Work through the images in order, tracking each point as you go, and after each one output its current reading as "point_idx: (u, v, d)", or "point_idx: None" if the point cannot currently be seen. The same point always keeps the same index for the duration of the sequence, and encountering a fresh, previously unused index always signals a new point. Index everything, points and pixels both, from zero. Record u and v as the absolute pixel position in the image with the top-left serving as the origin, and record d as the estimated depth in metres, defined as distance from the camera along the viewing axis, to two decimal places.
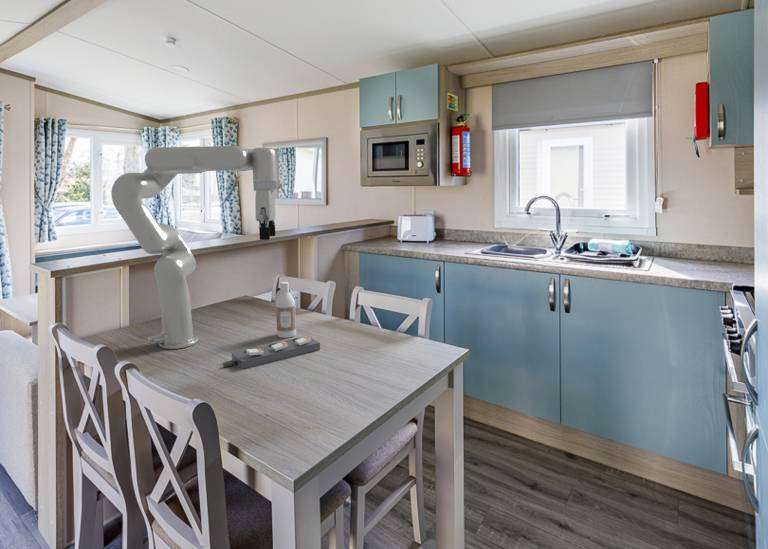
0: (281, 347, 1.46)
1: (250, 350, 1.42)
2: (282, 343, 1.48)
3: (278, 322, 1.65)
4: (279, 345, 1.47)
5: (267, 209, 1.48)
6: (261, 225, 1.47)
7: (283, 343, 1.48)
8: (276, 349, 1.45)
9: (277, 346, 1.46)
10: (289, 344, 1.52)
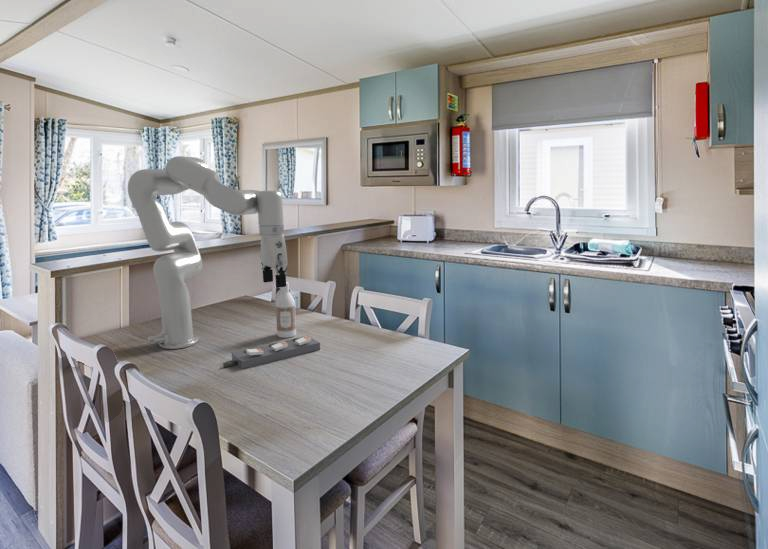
0: (281, 347, 1.46)
1: (250, 350, 1.42)
2: (282, 343, 1.48)
3: (278, 322, 1.65)
4: (279, 345, 1.47)
5: None
6: None
7: (283, 343, 1.48)
8: (276, 349, 1.45)
9: (277, 346, 1.46)
10: (289, 344, 1.52)
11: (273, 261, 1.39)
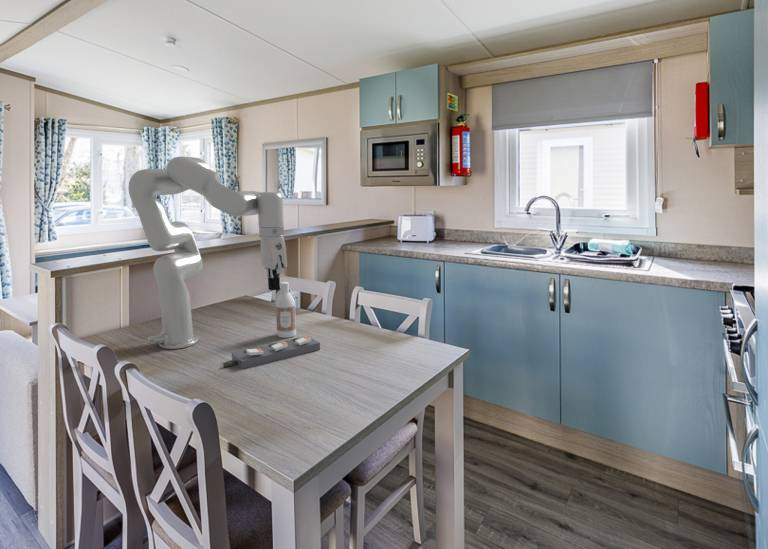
0: (281, 347, 1.46)
1: (250, 350, 1.42)
2: (282, 343, 1.48)
3: (278, 322, 1.65)
4: (279, 345, 1.47)
5: None
6: None
7: (283, 343, 1.48)
8: (276, 349, 1.45)
9: (277, 346, 1.46)
10: (289, 344, 1.52)
11: (273, 263, 1.39)
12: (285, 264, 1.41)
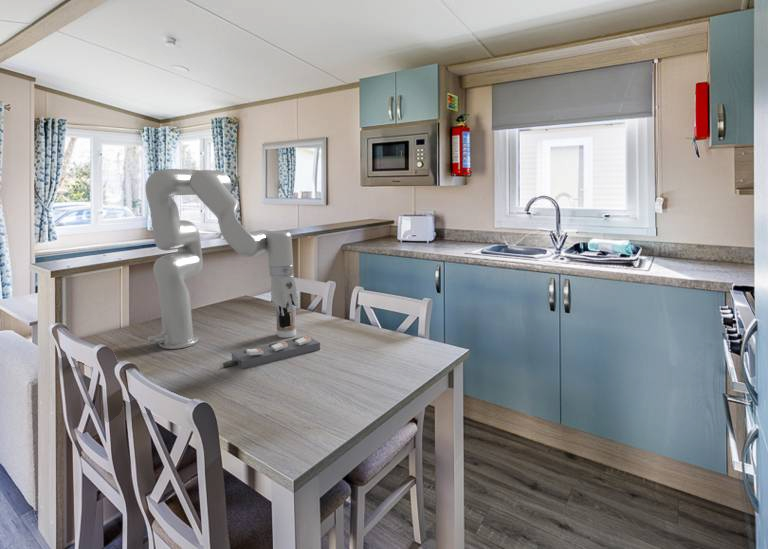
0: (281, 347, 1.46)
1: (250, 350, 1.42)
2: (282, 343, 1.48)
3: (278, 322, 1.65)
4: (279, 345, 1.47)
5: None
6: None
7: (283, 343, 1.48)
8: (276, 349, 1.45)
9: (277, 346, 1.46)
10: (289, 344, 1.52)
11: (283, 301, 1.40)
12: (296, 302, 1.43)
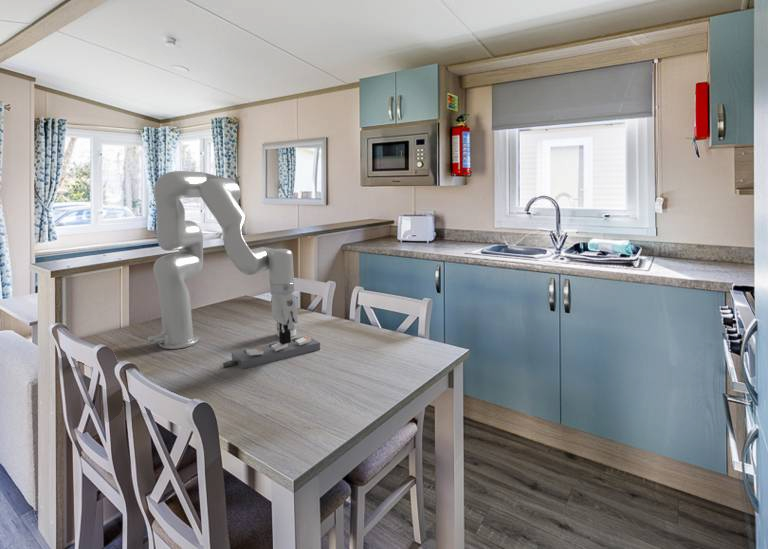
0: (281, 347, 1.46)
1: (250, 350, 1.42)
2: None
3: None
4: (279, 345, 1.47)
5: None
6: None
7: None
8: (276, 349, 1.45)
9: (277, 346, 1.46)
10: (289, 344, 1.52)
11: (284, 319, 1.42)
12: (296, 319, 1.44)
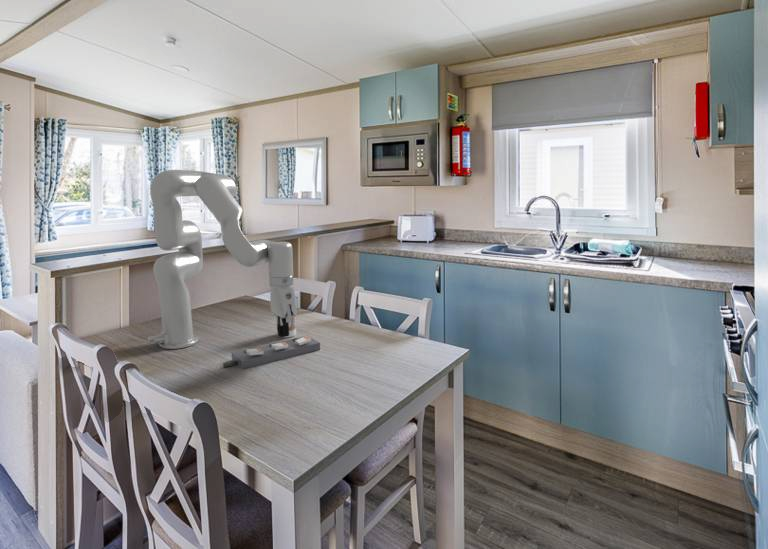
0: (281, 347, 1.46)
1: (250, 350, 1.42)
2: (283, 343, 1.48)
3: None
4: (279, 345, 1.47)
5: None
6: None
7: (284, 344, 1.48)
8: (276, 348, 1.45)
9: (277, 345, 1.46)
10: (289, 344, 1.52)
11: (283, 312, 1.41)
12: (295, 313, 1.43)
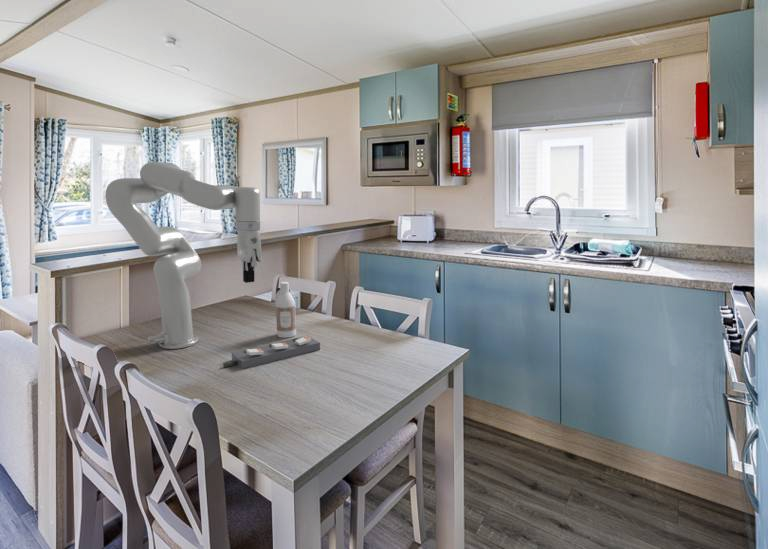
0: (281, 347, 1.46)
1: (250, 350, 1.42)
2: (283, 344, 1.48)
3: (278, 322, 1.65)
4: (280, 345, 1.47)
5: None
6: None
7: (284, 344, 1.48)
8: (276, 347, 1.45)
9: (278, 345, 1.46)
10: (289, 344, 1.52)
11: (247, 256, 1.43)
12: (260, 258, 1.46)
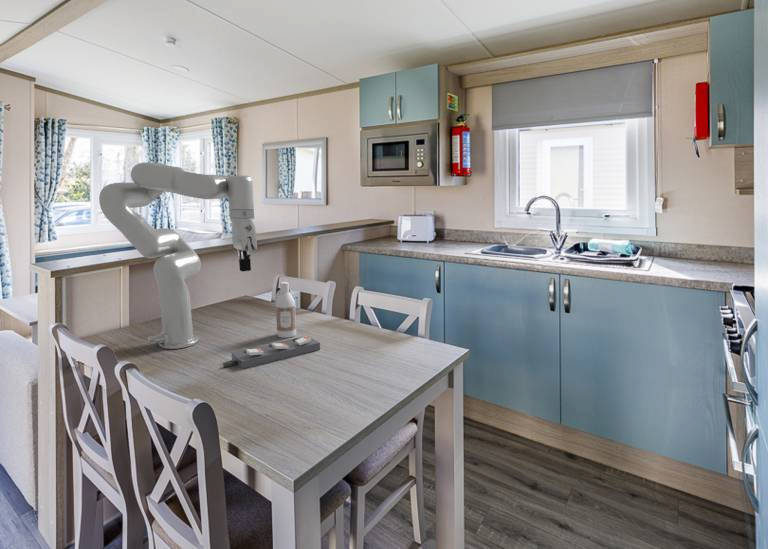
0: (282, 347, 1.46)
1: (250, 350, 1.42)
2: (283, 344, 1.48)
3: (278, 322, 1.65)
4: (280, 345, 1.47)
5: None
6: None
7: (284, 344, 1.48)
8: (277, 347, 1.45)
9: (278, 345, 1.46)
10: (289, 344, 1.52)
11: (242, 244, 1.43)
12: (255, 246, 1.46)
